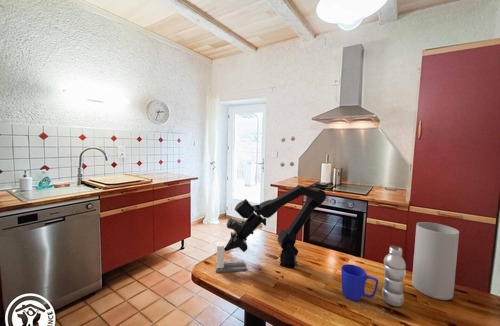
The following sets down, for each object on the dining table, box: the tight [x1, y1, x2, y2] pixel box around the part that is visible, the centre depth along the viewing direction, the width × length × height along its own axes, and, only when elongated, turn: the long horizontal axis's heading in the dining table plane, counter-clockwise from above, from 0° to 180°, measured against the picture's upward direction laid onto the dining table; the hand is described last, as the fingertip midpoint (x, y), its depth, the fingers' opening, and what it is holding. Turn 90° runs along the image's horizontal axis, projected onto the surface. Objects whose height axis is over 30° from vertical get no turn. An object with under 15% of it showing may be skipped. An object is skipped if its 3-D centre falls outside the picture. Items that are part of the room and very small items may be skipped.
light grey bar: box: [224, 260, 245, 267], centre depth 99 cm, size 12×2×2 cm, turn 99°
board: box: [215, 262, 247, 273], centre depth 99 cm, size 13×6×1 cm, turn 99°
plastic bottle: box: [381, 245, 407, 307], centre depth 79 cm, size 6×7×20 cm
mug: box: [340, 263, 379, 302], centre depth 81 cm, size 8×12×10 cm
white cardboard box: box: [216, 241, 225, 268], centre depth 98 cm, size 3×5×10 cm, turn 9°
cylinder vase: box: [411, 221, 460, 301], centre depth 86 cm, size 12×12×25 cm
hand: (224, 250), depth 98 cm, fingers closed
